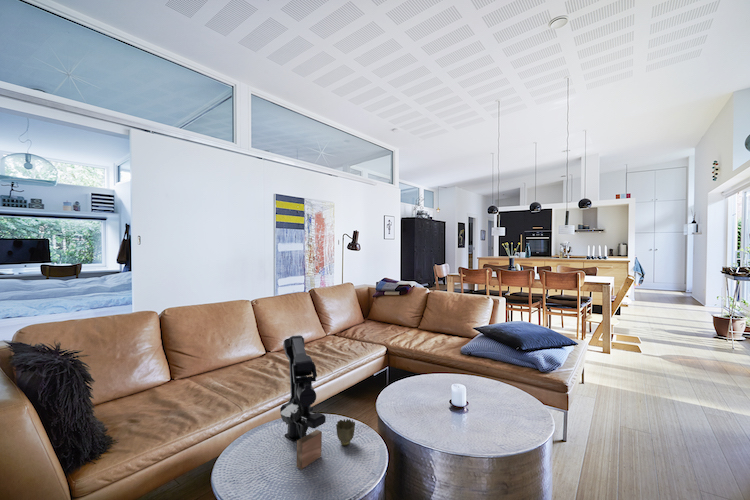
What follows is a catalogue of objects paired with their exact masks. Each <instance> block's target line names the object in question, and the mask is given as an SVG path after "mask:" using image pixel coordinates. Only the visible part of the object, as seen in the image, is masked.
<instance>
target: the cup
mask: <svg viewBox="0 0 750 500" xmlns="http://www.w3.org/2000/svg"><path fill="white" fill-rule="evenodd" d="M335 425H336V435H337V439H338V440H339V441H340V445H341V446H344V447H347V446H349V445H350V444H351V441H352V440H353V439H354V435H355V429H356V422H355V421H354V420H351V418H350V419H348V418H346V419H345V418H344V419H340V420H338V421H337V424H335Z"/></svg>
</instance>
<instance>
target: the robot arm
mask: <svg viewBox="0 0 750 500" xmlns="http://www.w3.org/2000/svg"><path fill="white" fill-rule="evenodd" d="M305 345H306V344H305V338H304V337H303V335H291V336H290V337H288V338H285V339H284V340H283V345H282V346H283V351H284V354H285V357H286V358H287V360H288V361H289V363H288V367H289V389H290V390H289V391H290V393H289V394H290V397H289V400H288V402H286V403H284V404H282V405H281V407H280V409H279V410H280V417H281V420H282V421H281V422H283V423H285V425H287V433H285V434H284V435H283V436H284V437H285V438H287V439H289V440H291V441H292V442H297V440H299V439H301V438H303V437H305V436H306V435H308V434H307V432H308V430H309V428H311V429H316V428H318V427H320V426H323V425H324V424H325V423H326V422H327V421H326V420H327V419H326V418H327V417H326V415H325V414H323V413H321V412H319V411H317V412H314V413H313V411H314V407H313V406H312V405H314V403H315V402H316V400H317V393H316V391H315V388H314V387H313V385H312V383H313V382H316V381H317V377H318V374H317V368H316V367H317V366H316V364H315V362H314V361H313V359H312V357H311V356H310V355H308V354H307V352H306V349H305Z"/></svg>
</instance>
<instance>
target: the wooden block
mask: <svg viewBox="0 0 750 500" xmlns="http://www.w3.org/2000/svg"><path fill="white" fill-rule="evenodd" d="M322 432H323V431H322V430H319V429H316V430H313V431H312V432H310V433H308V434H306V435H305V436H304V437H303V438H300V439H298V440H296V465H295V466H296V468H297V469H299V470H300V471H302V470H303V469H305V468H306V467H307V466H309V465H310V464H312V463H314V462H315V461H317V460H318V459H319V458H321V457H322V449H323V448H322V447H323V446H322V443H323V442H322V440H323V439H322V438H323V437H322V436H323V435H322V434H323V433H322Z"/></svg>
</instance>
